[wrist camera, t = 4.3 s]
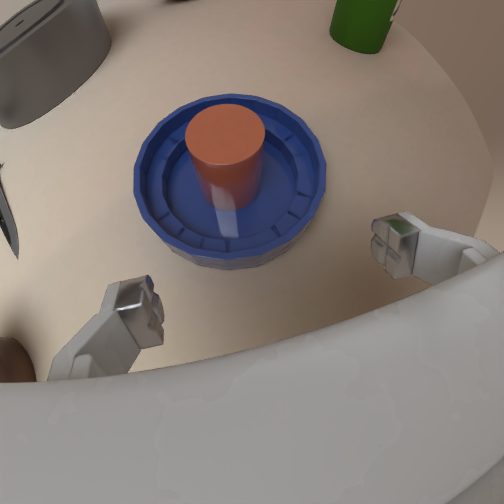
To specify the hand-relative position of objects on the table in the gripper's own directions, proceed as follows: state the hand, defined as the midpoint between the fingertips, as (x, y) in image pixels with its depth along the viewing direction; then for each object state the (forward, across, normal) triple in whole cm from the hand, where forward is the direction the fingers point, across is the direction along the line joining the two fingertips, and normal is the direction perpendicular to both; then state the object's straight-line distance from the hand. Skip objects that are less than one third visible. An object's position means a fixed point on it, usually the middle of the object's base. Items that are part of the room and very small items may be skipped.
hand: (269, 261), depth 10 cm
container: (+43, -25, +20) cm, 53 cm away
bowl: (+18, 0, -3) cm, 19 cm away
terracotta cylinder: (+18, 0, -3) cm, 18 cm away
